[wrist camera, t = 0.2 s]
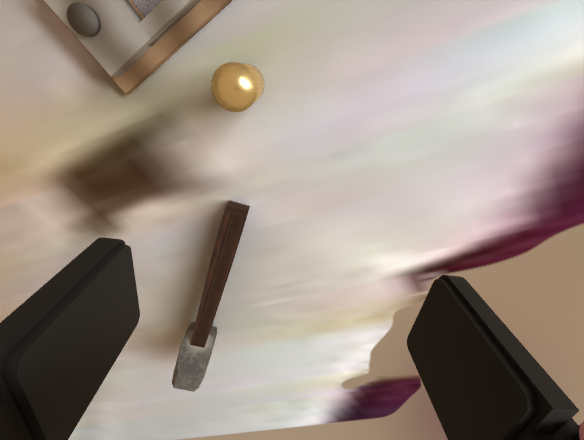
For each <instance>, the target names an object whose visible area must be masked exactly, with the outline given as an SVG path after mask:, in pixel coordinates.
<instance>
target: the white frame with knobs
mask: <svg viewBox="0 0 584 440" xmlns="http://www.w3.org/2000/svg"><path fill="white" fill-rule="evenodd" d="M43 1H44V2H45V3H46V4H47V5H48V6H49V8H50V9H51V10H52V11H53V12H54V13H55V14H56V16H57V17H58V18H59V19H60V20H61V21H62V22H63V23H64V25H65V26H66V27H67V28H68V29H69V30H70V31H71V33H72V34H73V35H74V36H75V37H76V38H77V39H78V40H79V42H80V43H81V44H82V45H83V46H84V47H85V48H86V50H87V51H88V52H89V53H90V54H91V55H92V56H93V58H94V59H95V60H96V61H97V62H98V63H99V64H100V65H101V67H102V68H103V69H104V70H105V71H106V72H107V73H108V75H109V76H110V77H111V78H112V79H113V80H114V81H115V82H116V84H117V85H118V86H119V87H120V88H121V89H122V90H123V92H124V93H125V94H127V93H131V92H132V91H133V90H134V89H135V88H137V87H138V86H139V85H140V84H141V83H142V82H143V81H144V80H145V79H146V78H148V77H149V76H150V75H151V74H152V73H153V72H154V71H155V70H156V69H157V68H159V67H160V66H161V65H162V64H163V63H164V62H165V61H166V60H167V59H168V58H170V57H171V56H172V55H173V54H174V53H175V52H176V51H177V50H178V49H179V48H181V47H182V46H183V45H184V44H185V43H186V42H187V41H188V40H189V39H190V38H192V37H193V36H194V35H195V34H196V33H197V32H198V31H199V30H200V29H201V28H203V27H204V26H205V25H206V24H207V23H208V22H209V21H210V20H211V19H212V18H214V17H215V16H216V15H217V14H218V13H219V12H220V11H221V10H222V9H223V8H225V7H226V6H227V5H228V4H229V3H230V2H231V1H232V0H162V1H161V2H160V3H159V4H158V5H157V6H156V7H155V8H154V9H153V10H152V11H151V12H150V13H149V14H148V15H147V16H146V17H144V16H143V14H142V13H141V12H140V10H139V9H138V8H137V6H136V5H135V4H134V3H133V1H132V0H43Z"/></svg>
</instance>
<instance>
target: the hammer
mask: <svg viewBox="0 0 584 440" xmlns="http://www.w3.org/2000/svg"><path fill="white" fill-rule="evenodd" d="M249 207H250V206H247V205H243V204H240V203H237V202H233V201H229V202H228V204H227V206H226V209H225V211H224V215H223V219H222V222H221V226H220V229H219V233H218V237H217V240H216V244H215V247H214V251H213V255H212V259H211V263H210V267H209V271H208V275H207V279H206V283H205V287H204V291H203V295H202V299H201V303H200V307H199V311H198V315H197V319H196V323H195V322H192V324H191V325H190V326H189V328H188V330H187V332H186V334H185V337H184V339H183V342H182V345H181V347H180V351H179V354H178V358H177V362H176V366H175V369H174V374H173V379H172V384H173V387H174V388H177V389H183V390H188V391H193V392H194V391H195V390H196V389H198V388H199V386H200V384H201V382H202V380H203V378H204V375H205V372H206V369H207V366H208V363H209V360H210V356H211V353H212V349H213V346H214V342H215V338H216V334H217V328H216V327H213V326H212V324H213V321H214V318H215V315H216V311H217V308H218V305H219V302H220V299H221V296H222V293H223V290H224V287H225V284H226V281H227V278H228V275H229V272H230V269H231V266H232V263H233V260H234V257H235V253H236V250H237V247H238V244H239V240H240V237H241V234H242V230H243V227H244V224H245V221H246V217H247V214H248V210H249Z"/></svg>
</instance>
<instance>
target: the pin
mask: <svg viewBox="0 0 584 440" xmlns="http://www.w3.org/2000/svg"><path fill="white" fill-rule="evenodd" d="M263 90H264V79H263V76H262V74H261V72H260V71H259V70H258V69H257V68H256V67H254V66H252V65H249V64H241V63H226V64H223V65H221V66H220V67H219V68H218V69H217V70H216V71H215V73H214V75H213V78H212V92H213V95H214V97H215V99H216V101H217V102H218V103H219V104H220V105H221V106H222V107H223V108H225V109H226V110H229V111H232V112H240V111H244V110H246V109H247V108H249V107H250V106H251V105H252V104H253V103H254V102H255V101H256V100H257V99H258V98H259V97H260V96H261V95H262V93H263Z"/></svg>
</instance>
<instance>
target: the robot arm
mask: <svg viewBox="0 0 584 440" xmlns="http://www.w3.org/2000/svg"><path fill="white" fill-rule="evenodd" d="M139 317H140V311H139V303H138V296H137V289H136V282H135V274H134V267H133V260H132V253H131V248H130V246H128V245H125V242H124V241H123V240H120V239H111V238H98V239H97V240H96V241H94V242H93V243H92V244H91V245H90V246H89V247H88V248H86V249H85V250H84V251H83V252H82V253H81V254H79V255H78V256H77V257H76V258H75V259H74V260H73V261H71V262H70V263H69V264H68V265H67V266H66V267H64V268H63V269H62V270H61V271H60V272H59V273H57V274H56V275H55V276H54V277H53V278H52V279H51V280H49V281H48V282H47V283H46V284H45V285H44V286H42V287H41V288H40V289H39V290H38V291H37V292H36V293H34V294H33V295H32V296H31V297H30V298H29V299H27V300H26V301H25V302H24V303H23V304H22V305H20V306H19V307H18V308H17V309H16V310H15V311H14V312H12V313H11V314H10V315H9V316H8V317H7V318H5V319H4V320H3V321H2V322H1V323H0V440H68V439H69V437H70V435H71V434H72V432H73V430H74V429H75V427H76V426H77V424H78V422H79V421H80V419H81V417H82V416H83V414H84V412H85V411H86V409H87V407H88V406H89V404H90V402H91V401H92V399H93V397H94V396H95V394H96V392H97V391H98V389H99V387H100V386H101V384H102V382H103V381H104V379H105V377H106V376H107V374H108V372H109V371H110V369H111V367H112V366H113V364H114V362H115V361H116V359H117V357H118V356H119V354H120V352H121V351H122V349H123V347H124V346H125V344H126V342H127V341H128V339H129V337H130V336H131V334H132V332H133V331H134V329H135V327H136V326H137V324H138V321H139ZM407 346H408V349H409V352H410V354H411V356H412V359H413V361H414V363H415V366H416V368H417V370H418V372H419V375H420V377H421V379H422V382H423V384H424V386H425V388H426V391H427V393H428V395H429V398H430V400H431V402H432V404H433V406H434V409H435V411H436V413H437V416H438V418H439V420H440V422H441V425H442V427H443V429H444V432H445V434H446V436H447V438H448V440H584V421H583V422H582V423H581V424H580V425H577V423H576V422H575V421H574V420H573V419H572V417H573V416H574V415H575V414H576V413H577V412H578V411H579V410H578V408H576V406H575V405H574V404H573V403H572V401H571V400H570V399H569V398H568V397H567V396H566V395H565V393H564V392H563V391H562V390H561V389H560V388H559V386H558V385H557V384H556V383H555V382H554V381H553V380H552V379H551V377H550V376H549V375H548V374H547V373H546V371H545V370H544V369H543V368H542V367H541V366H540V365H539V363H538V362H537V361H536V360H535V359H534V358H533V357H532V356H531V354H530V353H529V352H528V351H527V350H526V349H525V347H524V346H523V345H522V344H521V343H520V342H519V340H518V339H517V338H516V337H515V336H514V335H513V334H512V332H510V330H509V329H508V328H507V327H506V326H505V324H504V323H503V322H502V321H501V320H500V319H499V317H498V316H497V315H496V314H495V313H494V312H493V311H492V309H491V308H490V307H489V306H488V305H487V304H486V302H484V300H483V299H482V298H481V297H480V296H479V294H478V293H477V292H476V291H475V290H474V289H473V288H472V286H471V285H470V284H469V283H468V282H467V281H466V280H465V279H464V278H462V277H458V276H449V275H442V276H441V277H439V279H436V280H435V281H434V282H433V284H432V286H431V288H430V291H429V293H428V295H427V297H426V299H425V301H424V303H423V306H422V308H421V310H420V312H419V314H418V317H417V318H416V321H415V323H414V325H413V327H412V329H411V332H410V333H409V335H408V338H407Z"/></svg>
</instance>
